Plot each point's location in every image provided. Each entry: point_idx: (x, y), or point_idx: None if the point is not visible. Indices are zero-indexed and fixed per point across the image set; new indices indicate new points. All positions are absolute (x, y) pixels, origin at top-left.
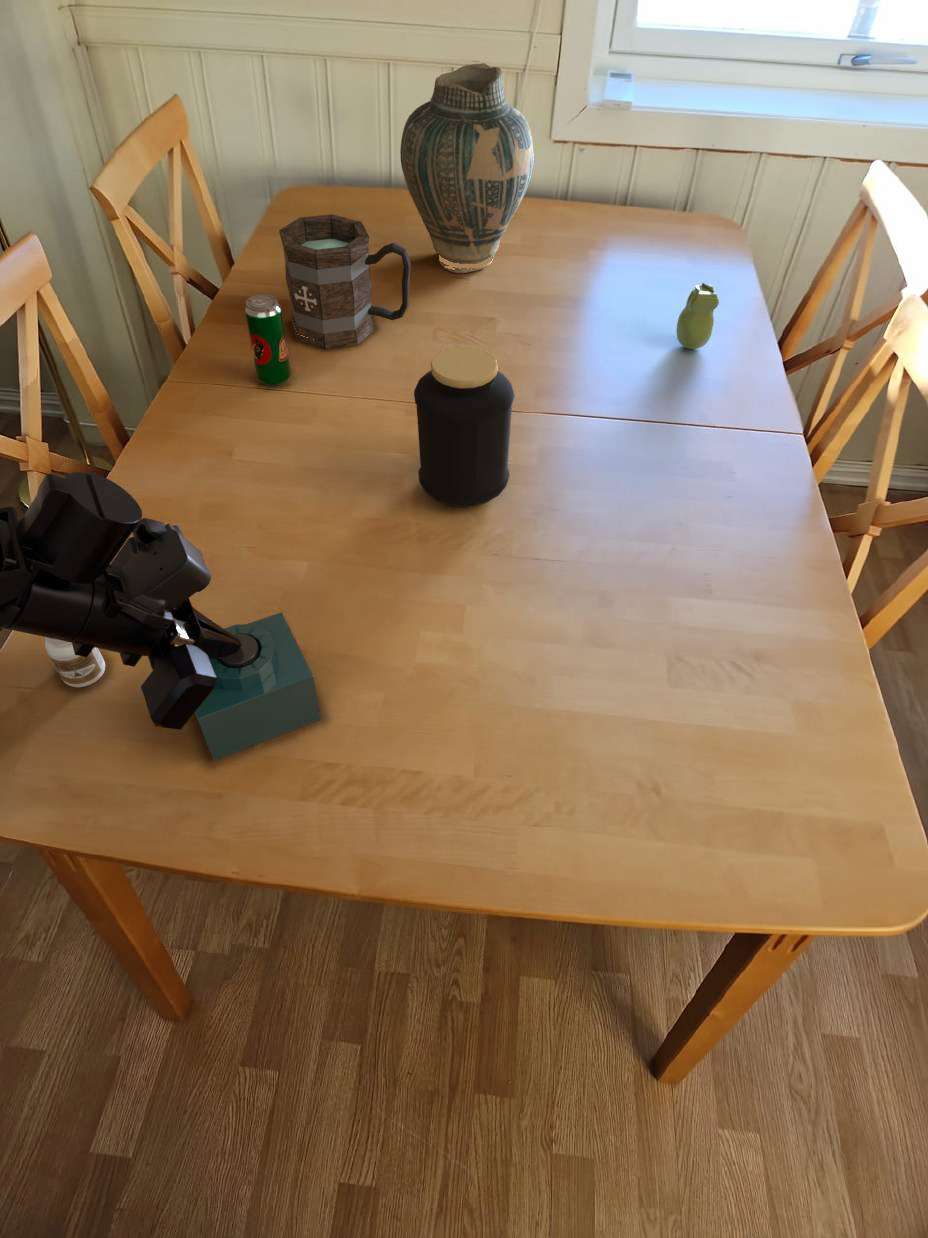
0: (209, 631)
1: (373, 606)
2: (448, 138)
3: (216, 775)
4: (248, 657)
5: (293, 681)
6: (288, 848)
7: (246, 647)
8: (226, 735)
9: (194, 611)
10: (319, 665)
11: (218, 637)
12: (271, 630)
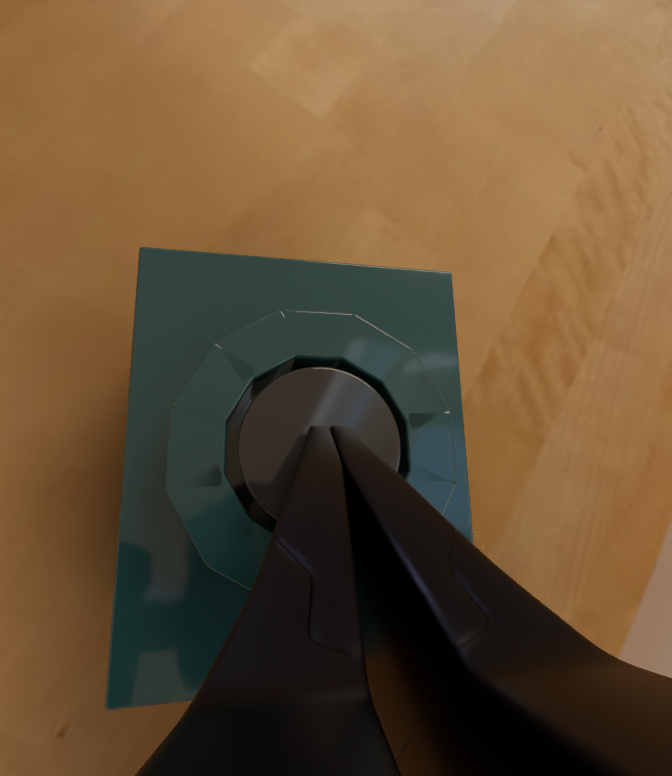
0: (437, 583)
1: (121, 105)
2: None
3: None
4: (384, 422)
5: (449, 329)
6: (620, 504)
7: (333, 412)
8: None
9: (276, 686)
10: None
11: (430, 528)
12: (210, 310)
